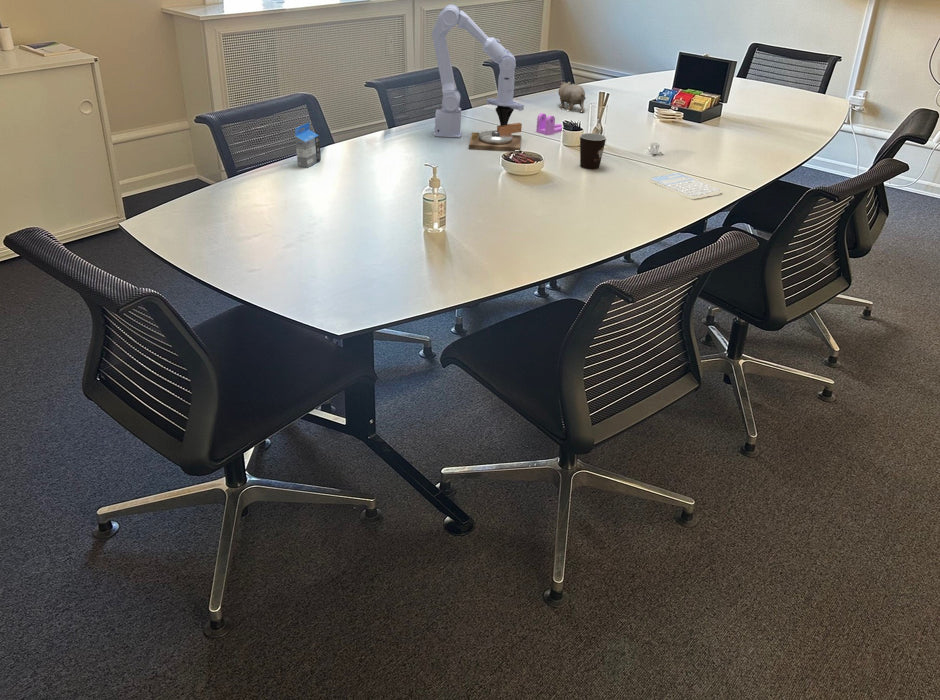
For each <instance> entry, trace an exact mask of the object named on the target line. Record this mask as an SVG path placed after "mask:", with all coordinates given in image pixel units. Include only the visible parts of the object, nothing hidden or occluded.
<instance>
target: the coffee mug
mask: <svg viewBox="0 0 940 700" xmlns="http://www.w3.org/2000/svg"><path fill="white" fill-rule="evenodd" d="M606 140H607V136H605V135H603V134H600V133H595V132H594V133H592V132H588V133H581V134H580V135H579V159H580V161H579V164H580V166H579V167H581V168H583V169H586V170H597V169H599V168H600V166H601V162H602V158H603V157H602V156H603V153H604V149H605V145H606Z"/></svg>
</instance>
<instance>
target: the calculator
mask: <svg viewBox="0 0 940 700" xmlns="http://www.w3.org/2000/svg"><path fill="white" fill-rule="evenodd" d="M685 178H688V179H685ZM689 179H690V180H689ZM650 180H652V181H655V182H657V183H659V184H662V185H664V186H667V187H669V188H672V189H674V190H676V191H679V192H681V193H684V194H687V195H689V196H692V197H695V196H701V195H704V194H709V193H711V192H714V190H715V191H720V190H721V188H717V187H715V186H713V187H711V186H712V185H710V184H708V183H705V182H703V181H700V180H698V179H696V178H693V177H691V176H688V175H685V174H684V173H680V172H674V173H668V174H663V175H657V176H652V177H650V178H649V181H650ZM681 180H682V181H681ZM709 188H710V189H713V190H710V189H709ZM708 191H709V192H708Z"/></svg>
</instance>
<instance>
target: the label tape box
mask: <svg viewBox="0 0 940 700" xmlns="http://www.w3.org/2000/svg"><path fill="white" fill-rule="evenodd" d="M302 129H303V130H302ZM294 139H295V149H296V151H295V152H296V158H297V167H299V168H300V167H301V168H307V169H309V168H310V167H311V166H313V165H315V164H317V163H319V162H320V161H322V155H321V144H320V140H321V139H320V135H318V134H317V133H315V132H314V131H312V130H311V129H310V121H309V122H306V123H304V124H302V125H299V126H297V127H295V128H294Z"/></svg>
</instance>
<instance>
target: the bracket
mask: <svg viewBox="0 0 940 700" xmlns="http://www.w3.org/2000/svg"><path fill="white" fill-rule="evenodd" d="M561 131H562V123H556V118H555V116H554V115H551V114H549V115H548V116H547V114H546V113H543V112H540V113H539V114H538V115H537V118H536V131H535V132H536V133H538V134H543V135H545V136H550V135H553V134H558V133H561ZM562 132H563V131H562Z"/></svg>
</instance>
